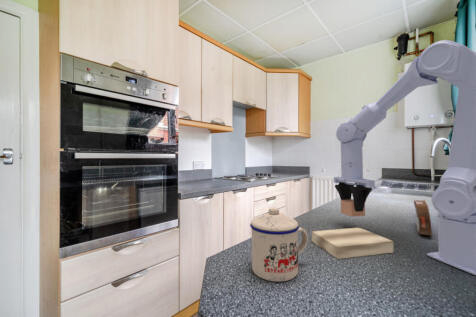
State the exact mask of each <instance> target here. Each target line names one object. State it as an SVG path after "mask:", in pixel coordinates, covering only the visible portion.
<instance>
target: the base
mask: <svg viewBox="0 0 476 317" xmlns="http://www.w3.org/2000/svg"><path fill="white" fill-rule="evenodd" d="M311 242H312V243H314V244H315V245H317V246H318V247H319V248H321V249H323V250H324V251H325V252H327V253H328V254H330V255H331V256H333V257H334V258H336V260H339V259H340V260H341V259H348V258H358V257H367V256H373V255H374V256H375V255H383V254H390V253H391V254H392V253H394V241H393V240H391V239H389V238H386V237H384V236H381V235H379V234H376V233H375V232H374V233H373V232H371V231H369V230H367V229H363V228H361V227H352V228H351V227H348V228H336V229H326V230H323V229H322V230H313V231H311Z"/></svg>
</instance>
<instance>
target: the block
mask: <svg viewBox="0 0 476 317" xmlns="http://www.w3.org/2000/svg"><path fill="white" fill-rule="evenodd" d="M340 213H341V214H343V215H346V216H348V217H351V218H352V217H364V216H366V204H365V205H364V209H363V211H360V212H356V211H355V208H354V199H353V198H351V199H349V200H341V199H340Z"/></svg>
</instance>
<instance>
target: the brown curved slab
mask: <svg viewBox="0 0 476 317" xmlns="http://www.w3.org/2000/svg"><path fill="white" fill-rule="evenodd" d="M413 205H414V208H415V209H414V210H415V224H416V230H417V232H418V234H419V235H421V236H428V237H432V236H433V235H432V234H433V233H432V222H431V215H430V210H429V209H430V208H429V205H428V204H427V202H426V200H425V199H424V200H419V199H417V200H414V201H413Z"/></svg>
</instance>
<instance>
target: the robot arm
mask: <svg viewBox="0 0 476 317" xmlns="http://www.w3.org/2000/svg"><path fill="white" fill-rule="evenodd" d="M438 79H440V80H442V81H445V82H448V83H449V84H451V85H452V86H454V87H456V88H457V89H458V91H457V92H458V93H457V100H456V106H455V107H456V108H455V113H454V121H453V127H452V128H453V129H452V136H451V143H450V149H449V155H448V161H447V162H448V164H447V168H446V170H445V171H444V173H443V174H442V175H441V177H440V179H439V185H438V186H437V188H436V189H435V190H434V191H433V193H432V195H431V204H432V206H433V207H434V209H435V210H436V211H437V236H438V237H437V239H438V240H437V242H438V243H437V244H438V245H437V246H438V251H435V252H434V251H433V252H427V253H426V255H427V257H430V258H432V259H434V260H437V261H439V262H442V263H444V264H447V265H449V266H452V267H454V268H457V269H459V270H462V271H464V272H466V273H469V274H472V275H474V276H476V51H474V50H472V49H470V48H469V47H468V46H466V45H464V44H463V43H459V42H456V41H453V40H448V39H444V40H443V39H442V40H439V41H435V42H433V43H432V44H430V45H428V46H427V47H426V48H425V49H424V50H423V51H422V52H421V54H420V55H418V56H417V57H415V58H414V59H413V60H412V61H411V63H410V64H409V66H408V68H407V70H406V71H405V72H404V73H403V74H402V75H401V76H400V77H399V78H398V79H397V80H396V81H395V82H394V84H393V85H391V86H390V87H389V88H388V90H386V92H385V93H384V94H383V95H382V96H381V97H380V98H379V99H378V100H377V101H376V102H369V103H367V104H364V105H363V106H362V107H361V110H360V111H359V112H358V113H356V115H355V116H354V117H353V118H352V117H351V119H349V121H347V122H342V123H340V124H339V126H338V127H337V129H336V132H335V136H336V139H337V141H339V142H340V172H341V176H333V183H334V184H335V185H334V188H335V189H336V192H337V193H338V196H339V198H340V201H341V200H349V199H354V208H355V211H356V212H360V211H363V209H364V205H365V206H366V201H367V198H368V197H369V195H370V193H371V192H372V190H373V189H374V188H376V184H375V183H376V180H375V179H367V178H364V168H363V167H364V166H363V165H364V163H363V160H364V159H363V147H364V141H365V140H366V138H367V135H368V133H369V132H370V131H371V130H373V129H374V128H375V127H376V126H377V125H379V124H380V123H381V122H383V121H384V119H386V117H387V113H388V112H387V111H388V110H390V109H391V108H392V107H394V106H395V105H396V104H398V103H399V102H401V101H402V100H403V99H404V98H405V97H407V96H408V95H410V93H412V92H413V91H415V90H416V89H417V88H420V87H425V86H426V87H427V86H430V85H431V86H432V85H437V84H439V80H438Z"/></svg>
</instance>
